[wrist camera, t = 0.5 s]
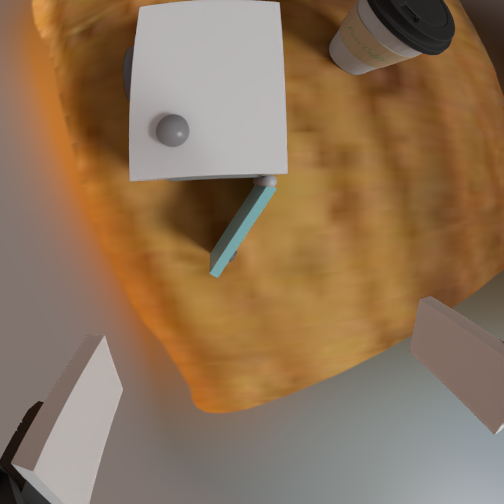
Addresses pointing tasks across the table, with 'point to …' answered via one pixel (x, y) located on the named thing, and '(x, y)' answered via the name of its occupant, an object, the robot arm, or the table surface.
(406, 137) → the table surface
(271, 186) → the side door
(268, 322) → the table surface
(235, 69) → the cabinet body
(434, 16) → the coffee cup
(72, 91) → the table surface
